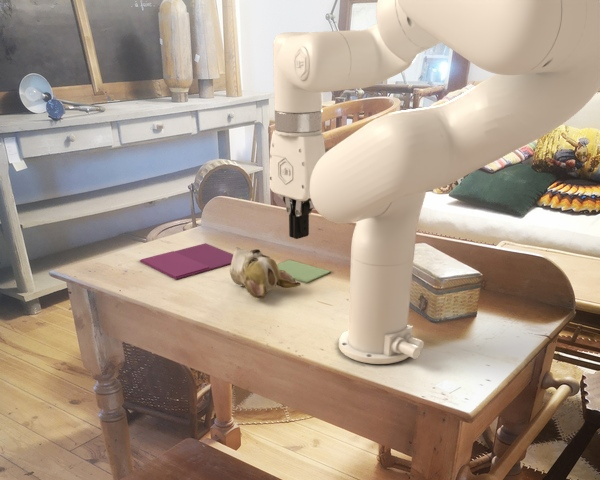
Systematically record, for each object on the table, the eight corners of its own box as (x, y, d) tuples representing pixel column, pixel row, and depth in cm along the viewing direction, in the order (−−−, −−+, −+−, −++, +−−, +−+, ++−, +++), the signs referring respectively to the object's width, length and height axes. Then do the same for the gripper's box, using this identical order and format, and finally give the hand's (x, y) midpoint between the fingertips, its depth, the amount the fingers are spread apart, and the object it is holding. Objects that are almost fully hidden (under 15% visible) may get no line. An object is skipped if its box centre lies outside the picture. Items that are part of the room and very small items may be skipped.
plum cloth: (244, 260, 136) (244, 258, 136) (176, 279, 126) (176, 277, 126) (205, 244, 146) (205, 242, 146) (139, 261, 136) (139, 259, 136)
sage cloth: (330, 272, 129) (330, 271, 128) (306, 283, 123) (306, 281, 123) (289, 260, 135) (289, 259, 135) (265, 270, 130) (265, 269, 130)
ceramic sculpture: (256, 233, 123) (304, 255, 114) (257, 273, 128) (303, 296, 119) (213, 245, 117) (260, 268, 108) (216, 285, 122) (261, 311, 113)
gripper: (251, 120, 97) (256, 231, 107) (312, 131, 88) (311, 251, 98) (286, 115, 102) (287, 223, 112) (348, 125, 92) (344, 242, 102)
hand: (299, 236), depth 105 cm, fingers closed
